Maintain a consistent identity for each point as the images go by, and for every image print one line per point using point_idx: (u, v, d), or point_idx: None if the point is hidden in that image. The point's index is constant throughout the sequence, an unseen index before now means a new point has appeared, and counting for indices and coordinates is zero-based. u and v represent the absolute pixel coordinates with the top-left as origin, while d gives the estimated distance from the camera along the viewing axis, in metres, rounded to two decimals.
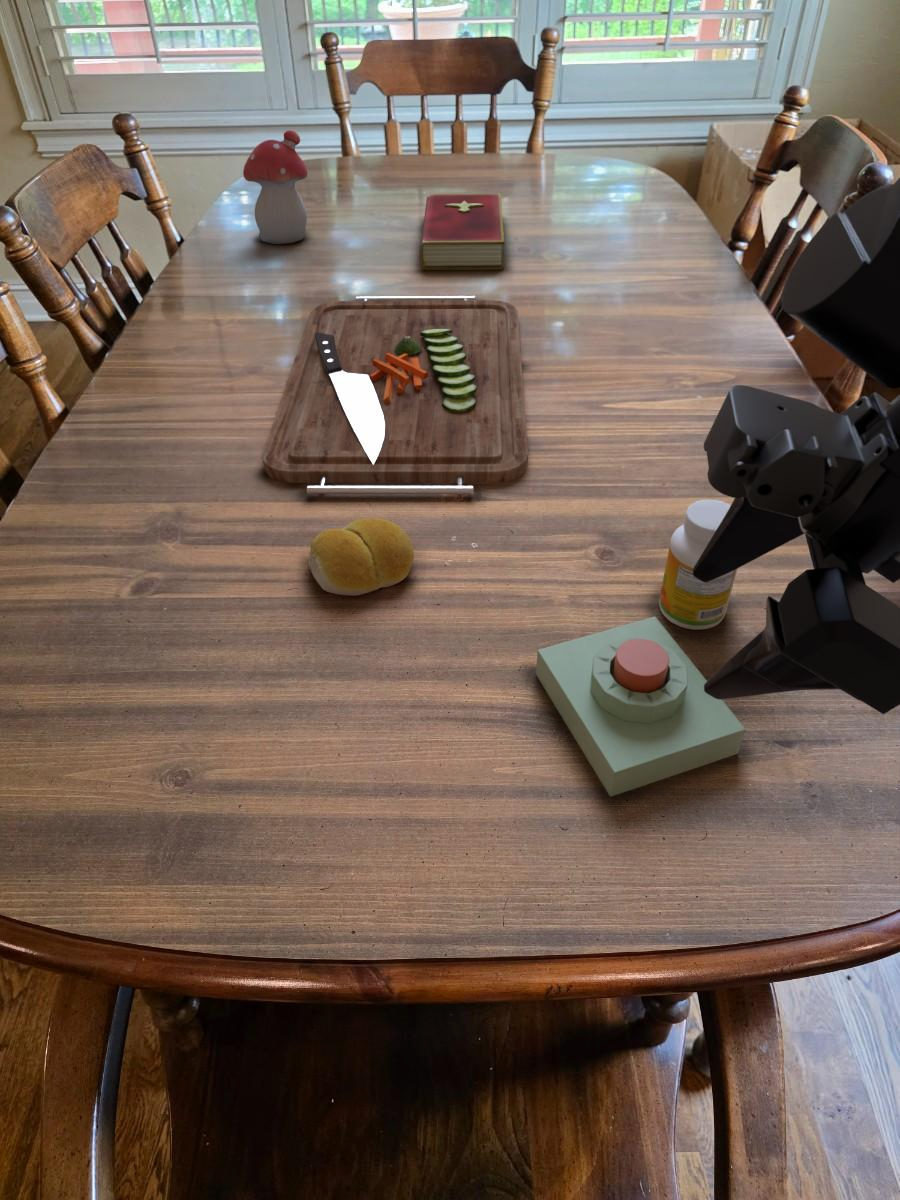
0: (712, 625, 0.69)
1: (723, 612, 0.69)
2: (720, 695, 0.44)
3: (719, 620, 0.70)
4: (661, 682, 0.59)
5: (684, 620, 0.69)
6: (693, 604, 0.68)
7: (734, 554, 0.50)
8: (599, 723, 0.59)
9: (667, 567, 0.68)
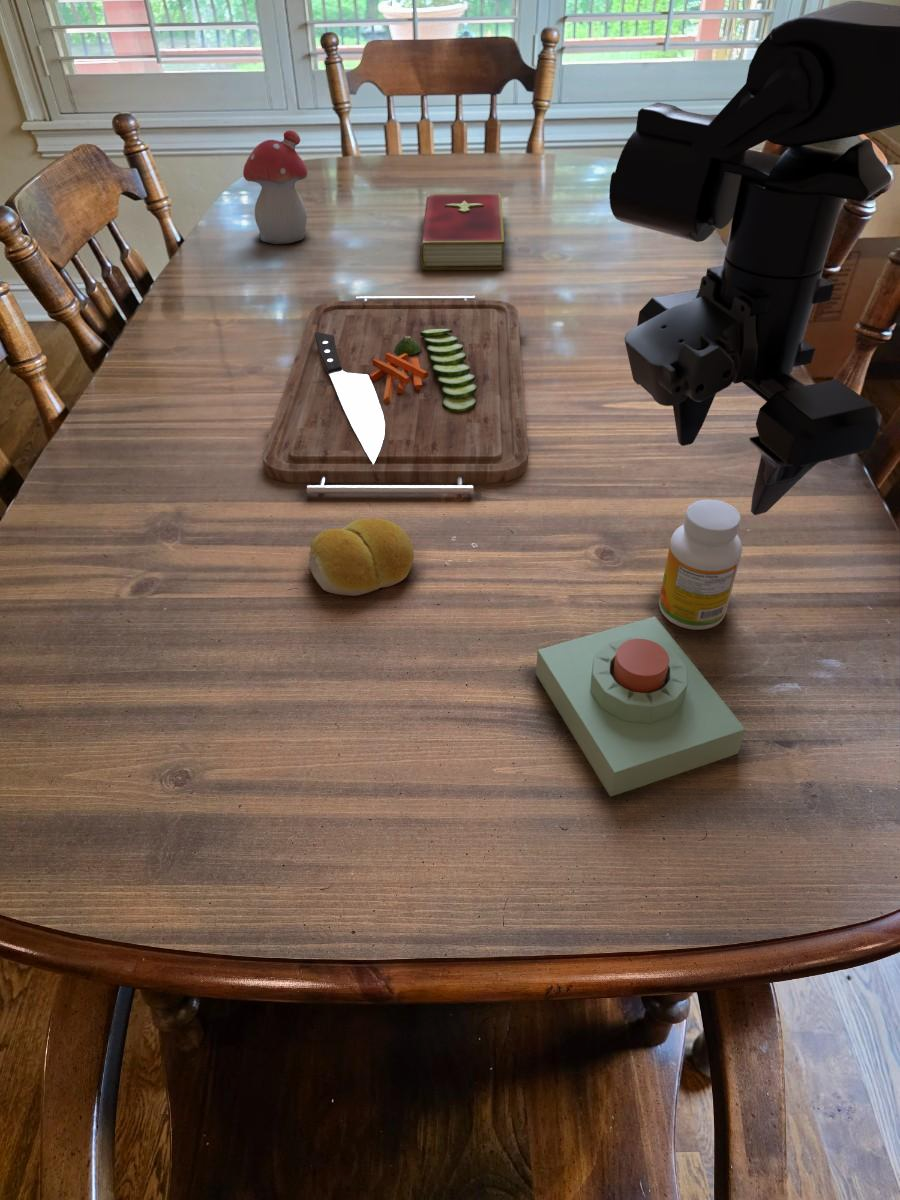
0: (712, 625, 0.69)
1: (723, 612, 0.69)
2: (765, 509, 0.59)
3: (719, 620, 0.70)
4: (661, 682, 0.59)
5: (684, 620, 0.69)
6: (693, 604, 0.68)
7: (696, 413, 0.64)
8: (599, 723, 0.59)
9: (667, 567, 0.68)
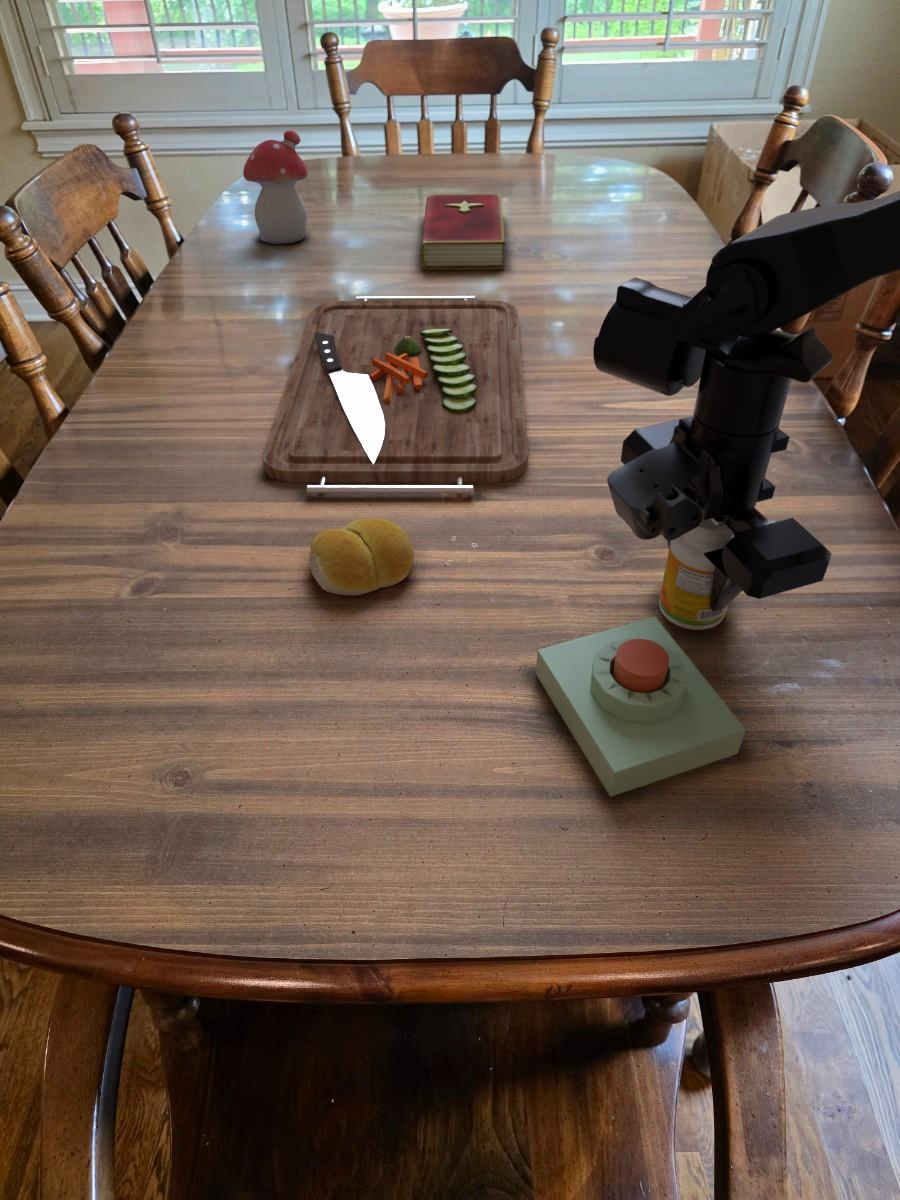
0: (712, 625, 0.69)
1: (723, 612, 0.69)
2: (722, 606, 0.67)
3: (719, 620, 0.70)
4: (661, 682, 0.59)
5: (684, 620, 0.69)
6: (693, 605, 0.68)
7: None
8: (599, 723, 0.59)
9: (667, 567, 0.68)
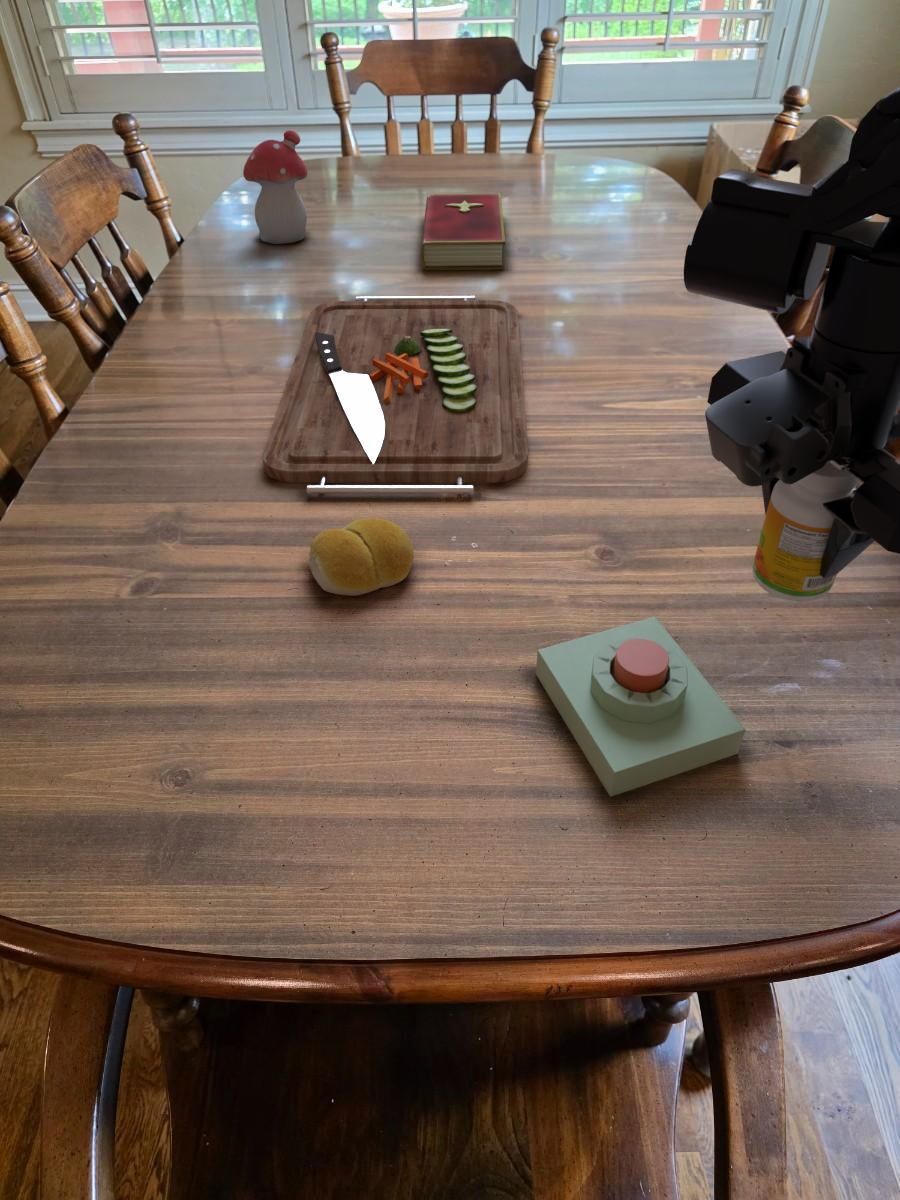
0: (819, 596, 0.58)
1: (833, 580, 0.58)
2: (835, 572, 0.56)
3: (827, 590, 0.58)
4: (661, 682, 0.59)
5: (786, 590, 0.58)
6: (799, 570, 0.57)
7: None
8: (599, 723, 0.59)
9: (767, 527, 0.57)
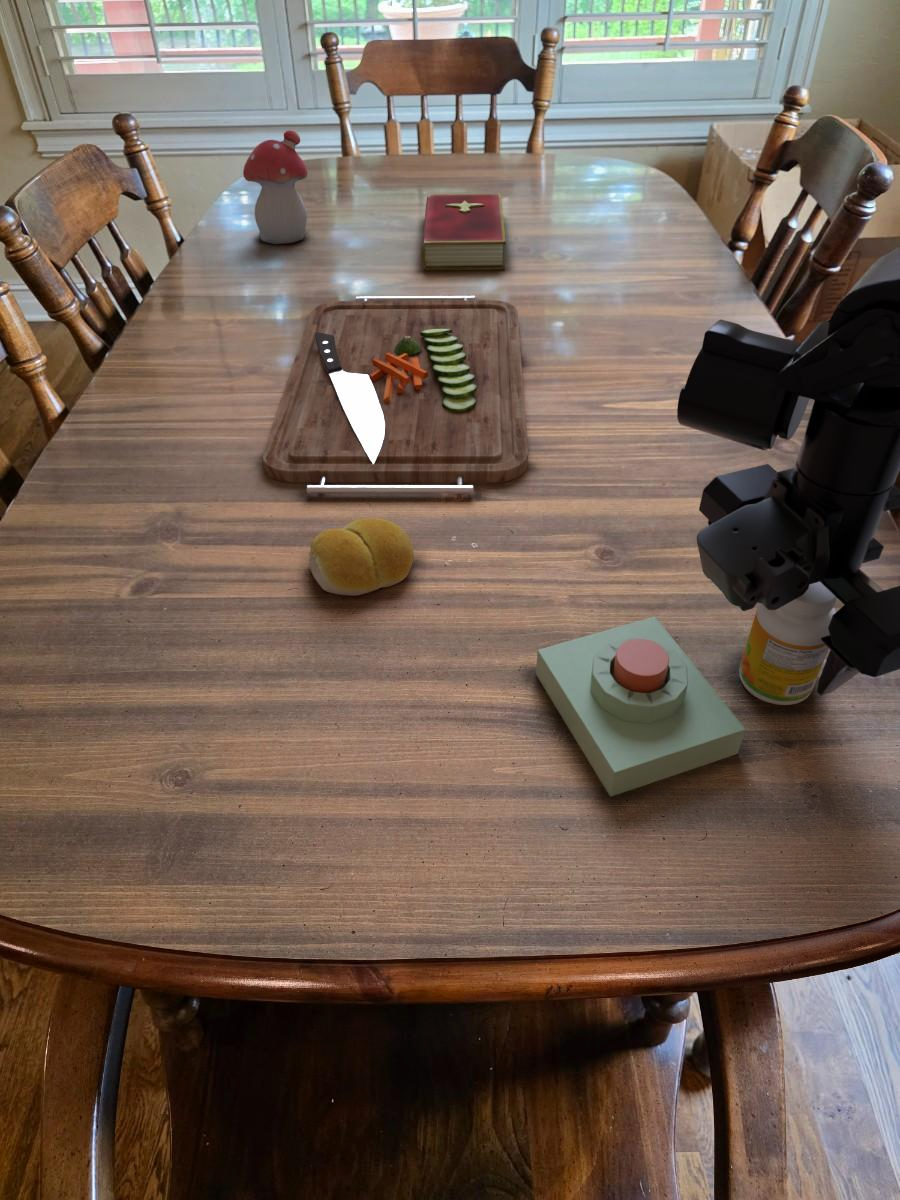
0: (800, 700, 0.63)
1: (812, 686, 0.63)
2: (832, 690, 0.60)
3: (808, 695, 0.64)
4: (661, 682, 0.59)
5: (770, 695, 0.63)
6: (782, 680, 0.62)
7: None
8: (599, 723, 0.59)
9: (753, 638, 0.62)
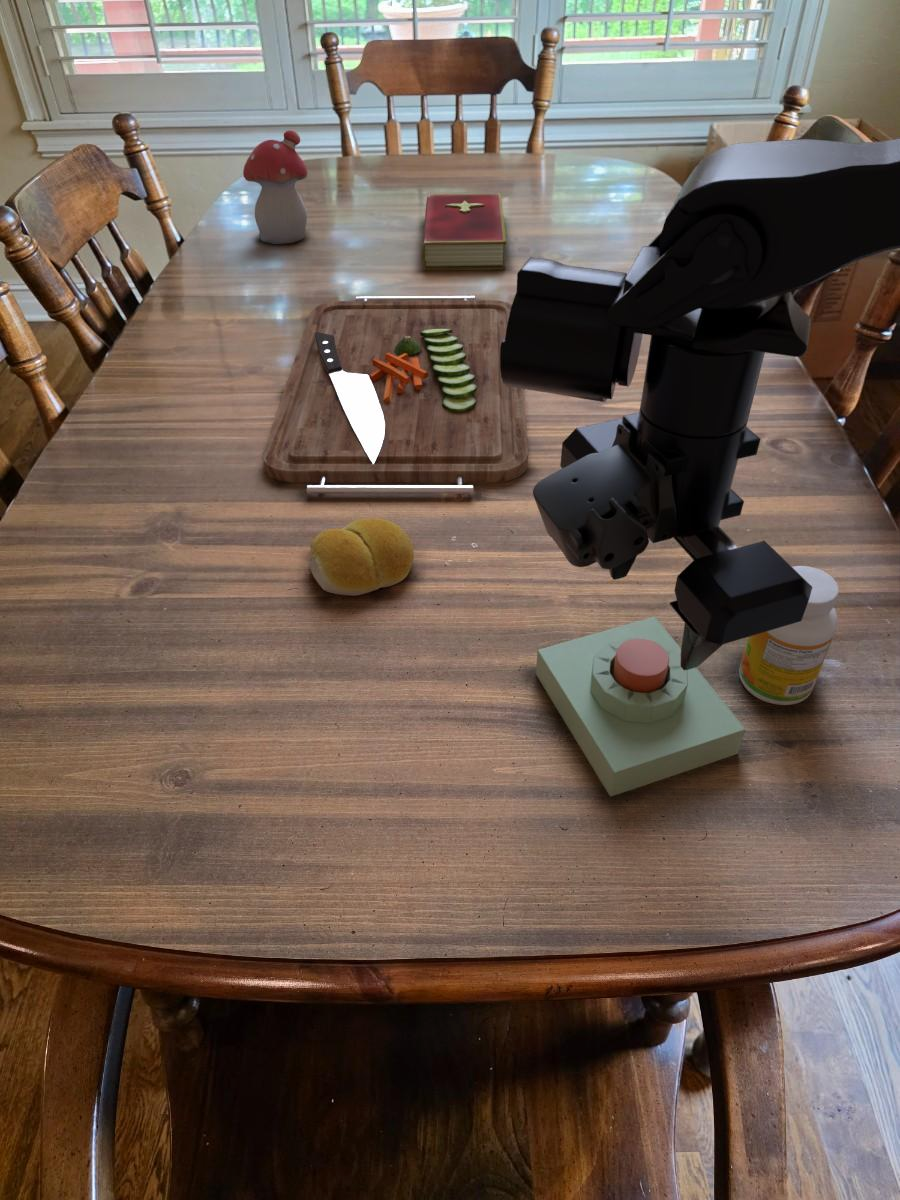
0: (800, 700, 0.63)
1: (812, 686, 0.63)
2: (696, 664, 0.54)
3: (808, 694, 0.64)
4: (661, 682, 0.59)
5: (770, 695, 0.63)
6: (782, 680, 0.62)
7: None
8: (599, 723, 0.59)
9: (753, 638, 0.62)
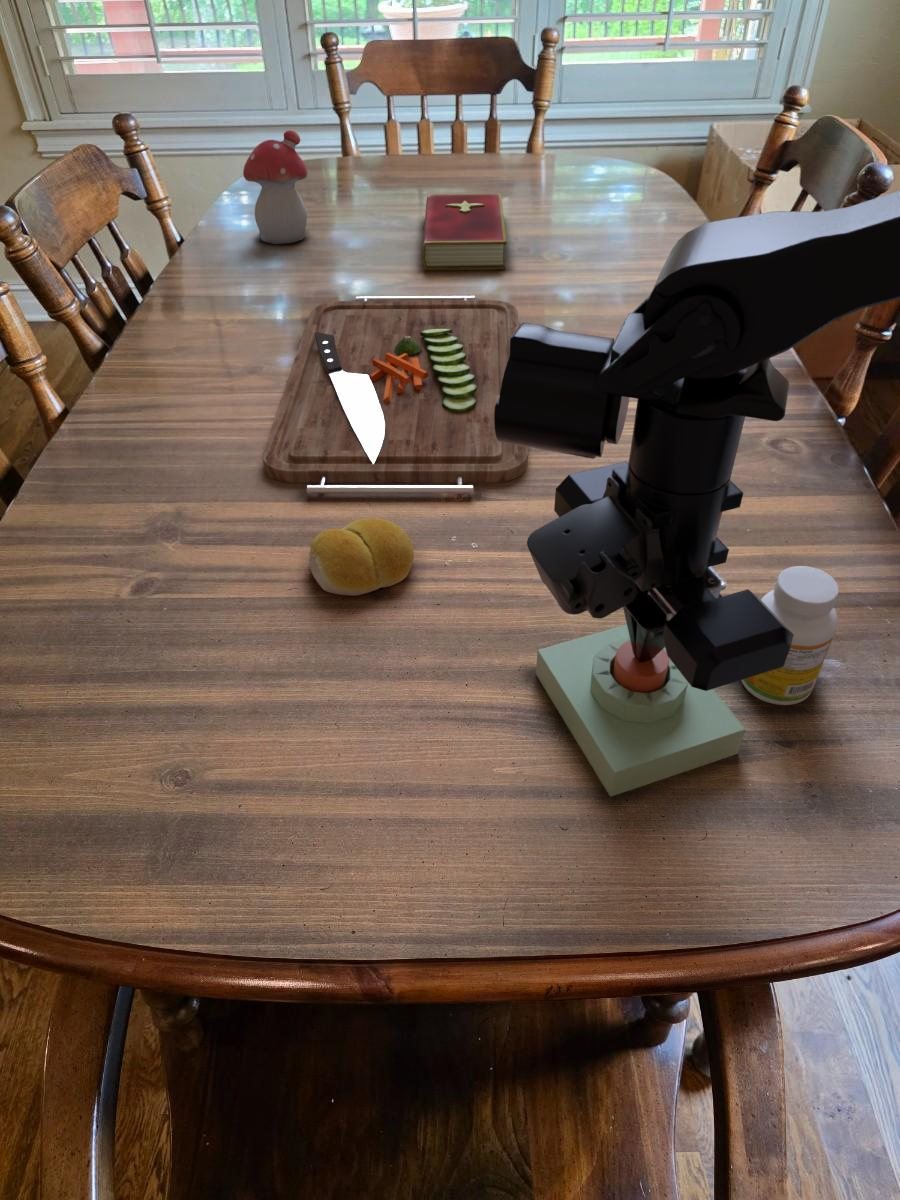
0: (800, 700, 0.63)
1: (812, 686, 0.63)
2: (651, 657, 0.59)
3: (808, 695, 0.64)
4: (661, 683, 0.59)
5: (770, 695, 0.63)
6: (782, 680, 0.62)
7: None
8: (599, 723, 0.59)
9: None
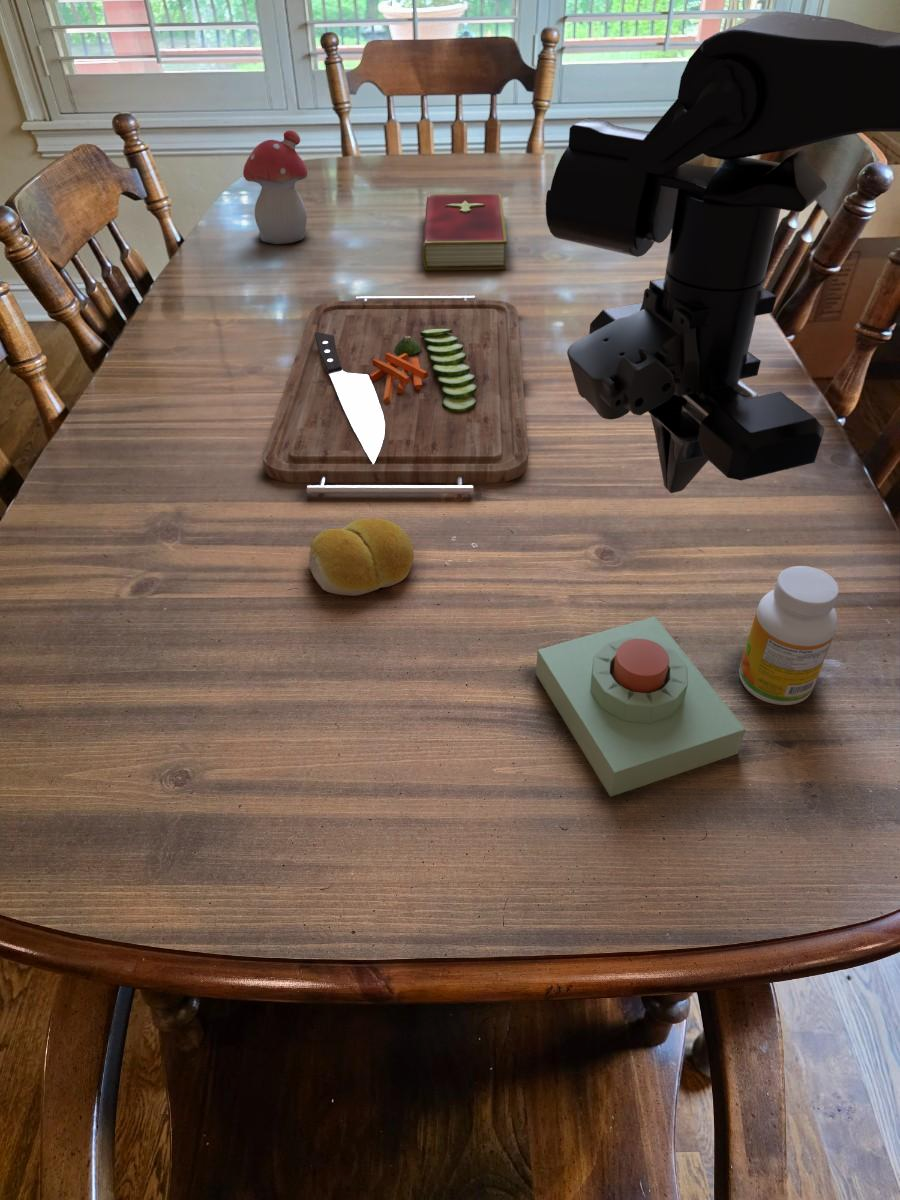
0: (800, 700, 0.63)
1: (812, 686, 0.63)
2: (681, 487, 0.61)
3: (808, 695, 0.64)
4: (661, 682, 0.59)
5: (770, 695, 0.63)
6: (782, 680, 0.62)
7: None
8: (599, 723, 0.59)
9: (753, 638, 0.62)
